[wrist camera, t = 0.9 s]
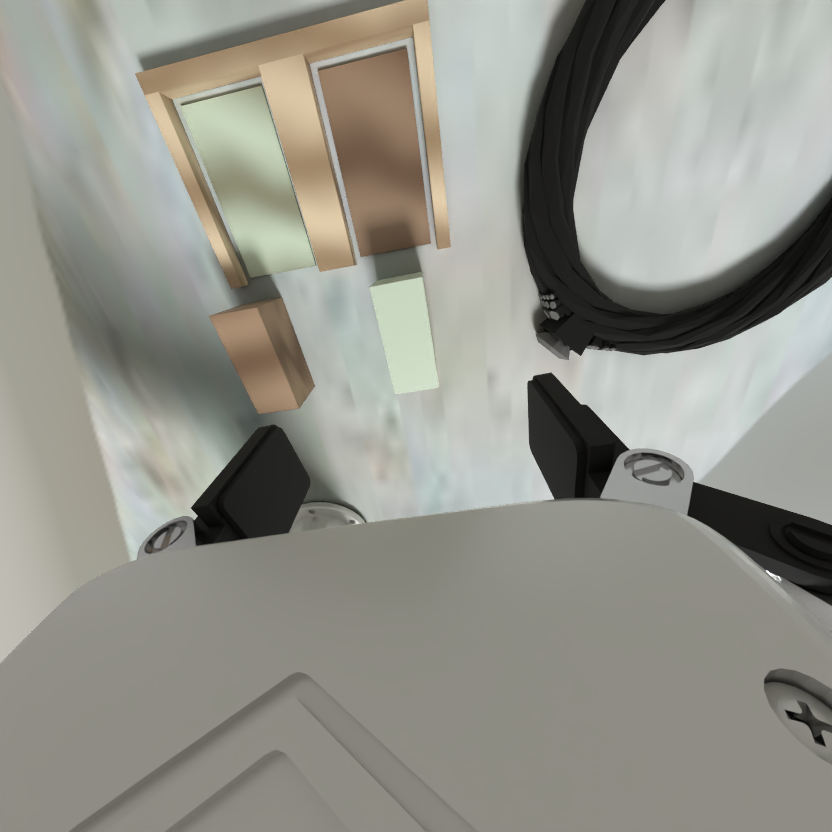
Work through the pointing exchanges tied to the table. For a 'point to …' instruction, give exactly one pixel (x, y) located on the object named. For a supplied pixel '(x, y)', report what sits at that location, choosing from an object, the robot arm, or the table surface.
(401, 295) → the sage bar
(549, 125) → the cable lock
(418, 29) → the oak rack
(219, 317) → the walnut bar
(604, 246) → the table surface
